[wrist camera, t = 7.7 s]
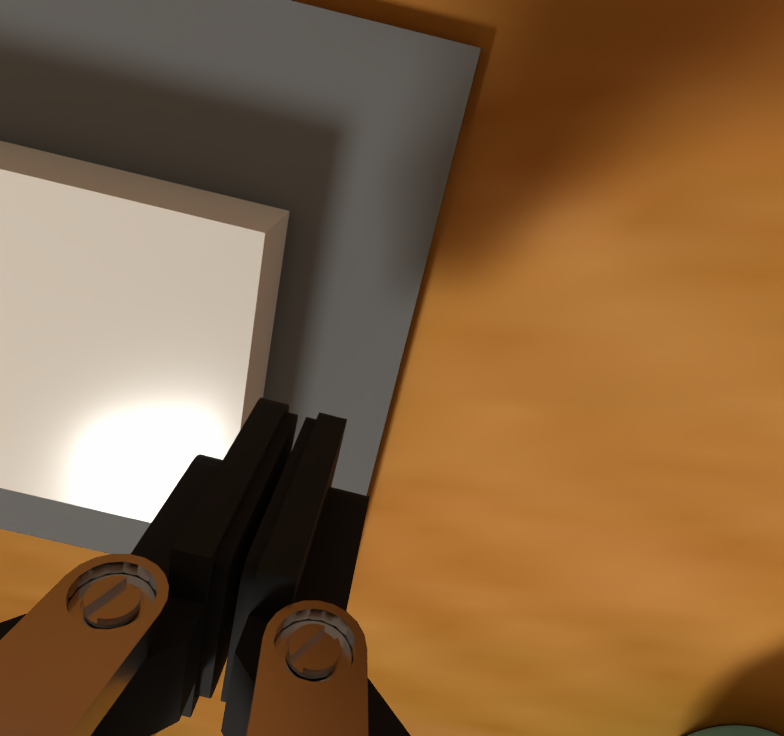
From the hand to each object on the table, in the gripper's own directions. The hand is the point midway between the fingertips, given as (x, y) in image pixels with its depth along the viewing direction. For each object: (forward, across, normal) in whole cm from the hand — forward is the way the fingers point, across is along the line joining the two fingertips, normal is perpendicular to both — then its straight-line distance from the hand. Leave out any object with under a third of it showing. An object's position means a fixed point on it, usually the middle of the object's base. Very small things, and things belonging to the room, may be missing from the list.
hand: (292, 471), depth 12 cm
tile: (+3, +2, 0) cm, 4 cm away
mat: (+5, +5, 0) cm, 7 cm away
